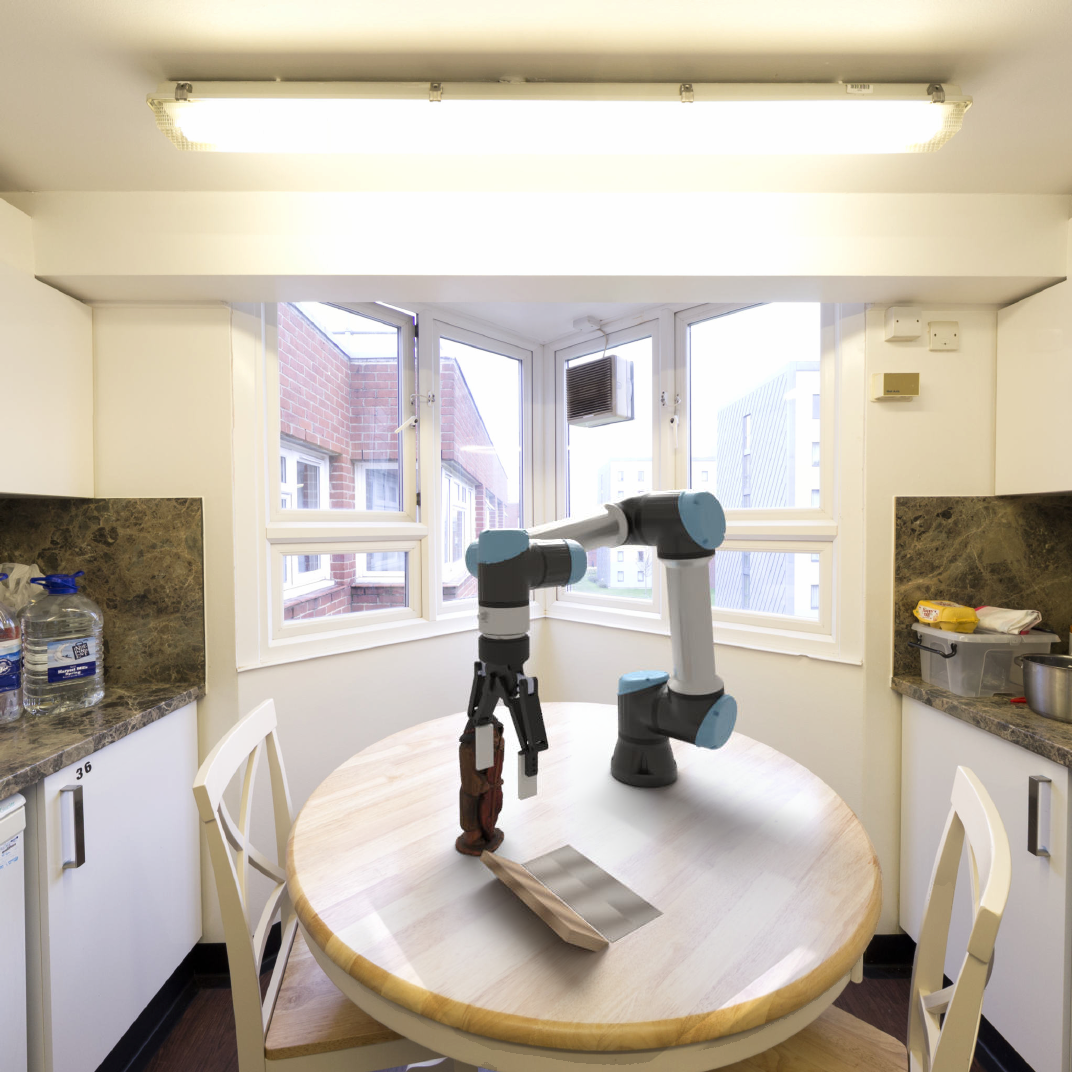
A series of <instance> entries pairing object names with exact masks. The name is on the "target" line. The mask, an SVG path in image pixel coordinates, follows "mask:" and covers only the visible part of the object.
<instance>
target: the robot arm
mask: <svg viewBox="0 0 1072 1072" xmlns="http://www.w3.org/2000/svg"><path fill="white" fill-rule="evenodd" d="M726 522H727V521H726V515H725V513H724V509H723V507H722V504H721V502H720V501H719V500H718V499H717V497H716V496H715V495H714V494H712V492H710V491H707V490H702V489H701V490H700V489H678V490H675V489H674V490H665V491H664V490H662V491H661V490H660V491H645V492H644V491H643V492H639V493H634V494H631V495H627V496H624V497H621V498H617V499H613V500H611V501H608V502H604V503H600V504H599V505H598V506H596V507H595V508H594V510H593V511H590V512H586V513H583V514H579V515H575V516H571V517H568V518H564V519H562V520H557V521H553V522H549V523H547V524H546V523H545V524H542V525H539V526H535V527H531V528H527V529H525V528H485V529H483V530H481V531H480V532H479V534H478V537H477V539H474V540H473V541H472V542H470V543H469V545H468V547H467V548H466V551H465V556H464V561H465V562H464V563H465V567H466V569H467V571H468V573H469V574H470V576H471V577H474V578H476V579H477V600H478V601H477V602H478V603H477V604H478V614H477V616H476V617H477V620H478V632H480V633H481V634H480V635H479V636H478V638H477V639H478V640H477V642H478V643H477V644H478V650H477V651H478V656H477V658H478V660H477V661H474V663H473V680H472V685H471V690H470V696H469V701H468V706H467V712H466V713H467V718H468V719H469V718H472V719H473V724H474V725H475V726H476V769H477V770H481V769H485V768H488V767H491V766H493V725H492V724H487V723H488V722H492V721H494V720H493V718H492V715H494V713H495V710H496V707H497V705H498V703H499V700H500V699H501V700H502V702H503V705H504V706H505V707H506V708H507V709H508V712H509V715H510V717H511V720H512V723H513V727H514V730H515V734H516V736H517V737H516V738H517V740H518V743H519V746H520V749H521V750H519V751H517V799H518V800H520V801H523V800H527V799H529V798H531V797H535V796H537V795H538V773H539V768H538V767H539V753H540V752H544V751H547V750H549V741H548V740H549V739H548V737H547V731H546V727H545V721H544V716H543V712H542V707H541V701H540V697H539V679H538V677H537V676H531V677H530V676H529V677H528V676H526V674H525V672H524V671H525V670H524V664H525V663H526V662H527V661H528V660H529V659H530V654H531V651H530V650H531V649H530V646H531V642H530V641H531V640H530V639H531V637H530V636H529V635H528V632H529V631H530V630H531V627H530V626H531V617H530V616H531V615H530V614H531V613H530V609H531V608H530V593H531V592H530V591H532V590H538V589H549V588H558V587H560V588H564V587H566V586H571V585H575V584H577V583H578V582H581V580H582V579H583V578H584V577H585V575H586V572H587V570H588V569H587V568H588V557H587V553H588V552H591V551H594V550H597V549H600V548H603V547H606V548H608V549H609V548H610V549H614V548H618V547H621V546H646V547H647V546H648V547H656V557H657V559H658V560H659V561H660V562H661V563H662V564H663V565H664V566H665V578H666V588H667V589H666V590H667V601H668V602H667V604H668V615H669V628H670V629H669V631H670V642H671V654H672V655H671V656H672V657H671V658H672V668H673V674H672V675H671V676H670V674H669V672H666V671H664V670H653V669H652V670H648V669H647V670H637V671H631V672H628V673H625V674H623V675H622V676H620V677H619V679H618V682H617V683H618V687H617V693H616V695H617V740H616V743H615V747H614V750H613V755H612V756H611V758H610V773H611V775H612V776H613V778H615V779H616V780H618V781H619V782H622V783H624V784H626V785H631V786H635V787H642V788H644V787H646V788H656V787H658V788H659V787H663V786H667V785H669V784H671V783H673V782H675V781H676V780H677V777H678V764H677V761H676V759H675V757H674V752H673V749H672V745H671V743H670V738H671V739H674V740H677V741H680V742H683V743H686V744H690V745H693V746H695V747H697V748H704V749H707V750H712V751H713V750H714V751H716V750H718V749H721V748H722V747H723V746H724V745H726V744H727V742H728V741H729V739H730V738H731V737H732V733H733V731H734V729H735V725H736V723H737V716H738V705H737V700H736V699H735V698H734V697H733V696H732V695H730V694H729V693H725V683H724V680H723V679H722V677H720V675H718V674H717V672H716V659H715V658H716V657H715V643H714V628H713V615H712V614H713V613H712V599H711V597H712V596H711V583H710V571H709V570H710V569H709V568H710V567H709V563H710V562H711V560H713V558H714V557H715V556H716V549H717V548H719V547H720V546H722V544H723V542H724V539H725V534H726V532H727V523H726Z"/></svg>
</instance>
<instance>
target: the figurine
mask: <svg viewBox="0 0 1072 1072" xmlns="http://www.w3.org/2000/svg"><path fill="white" fill-rule="evenodd" d="M492 718H493V720H494V721H492V722H488V723H487V724H492V725H493V766H491V767H488V768H485V769H481V770H477V769H476V726H475V725H474V724H473V719H472V718H468V720H467V722H466V724H465V727H464V730H463V732H462V734H461V735H460V736H459V739H458V742H459V743H460V744H459V747H458V758H459V759H458V760H459V762H458V763H459V775H460V776H459V778H460V783H461V784H460V787H459V793H458V794H459V795H458V796H459V798H458V799H459V800H458V801H459V803H458V805H459V826H460V829H461V830H463V832H462V833H461V834H460V835H458V836H457V838H455V839H456V840H455V849H456V851H458V853H460V854H463V855H465V856H468V857H469V856H470V857H481V855H482V853H483V851H484V850H486V851H488V852H490V853H493V854H494V853H495V852H496V851H497V850H498V849H499V847H500V846H501V844H502V843H503V842H504V840H505V832H504V831H503V830H502V829H501V828H499V827H496V825H497V823H498V820H499V816H500V813H501V812H502V809H503V804H504V792H503V789H502V788H503V787H502V786H503V785H504V784H505V780H504V779H503V778H502V775H503V769H504V761H505V747H506V744H505V743H506V741H505V738H504V736H503V735H504V731H505V727H504V723H502V722H501V721H500V720H499V719H498V717H496V715H495V714H493V715H492Z"/></svg>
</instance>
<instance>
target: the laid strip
mask: <svg viewBox="0 0 1072 1072" xmlns="http://www.w3.org/2000/svg"><path fill="white" fill-rule="evenodd" d="M520 865H521V866H522V867H523V868H524V869H525V870H526V871H527V872H529V873H530V874H531V875H532V876H533V877H534V878H535V879H536V878H537V880H538V881H539V882H540V883H541V884H542V885H544V886H545V887H546V888H547V889H548V890H549V891H550V892H552V893H553V894H554V895H555V896H556V897H557V898H559V899H560V900H561V901H562V902H563V903H564V904H565V905H566V904H567V906H568V907H569V908H570V909H571V910H572V911H574V912H575V913H576V914H577V915H578V916H579V917H580V918H582V919H583V920H584V921H585V922H586V923H587V924H590V926H591V927H592V928H593V929H594V930H595V931H597V932H598V933H599V934H600V935H601V936H602V937H604V938H605V939H606V940H607V941H608V942H609V943H610V942H611V943H612V944H613V943H615V942H617V941H618V940H620V939H622V938H623V937H625V936H627V935H628V934H630V933H632V932H633V931H635V930H638V929H639V928H640V927H642V926H644V925H646V924H647V923H649V922H651V921H653V920H654V919H656V918H658V917H660V916H662V915H663V914H664V913H663V912H662V911H661V910H659V909H658V908H657V907H655V906H654V905H653V904H651V903H650V902H648V901H647V900H646V899H644V898H643V897H641V896H640V895H639V894H637V893H636V892H635V891H633V890H632V889H631V888H629V887H628V886H627V885H625V884H624V883H622V882H621V881H620V880H618V879H617V878H616V877H614V876H612V875H611V874H610V873H608V872H607V871H606V870H604V868H602V867H600V866H599V865H598V864H596V863H595V862H594V861H592V860H591V859H589V858H588V857H587V856H585V855H584V854H582V853H581V852H579V851H578V850H576V848H574V847H573V846H572V845H570V844H566V845H564V846H561V847H559V848H556V849H554V850H551V851H549V852H547V853H545V854H542V855H540V856H537V857H535V858H532V859H530V860H528V861H526V862H523V863H521V864H520Z"/></svg>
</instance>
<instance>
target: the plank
mask: <svg viewBox="0 0 1072 1072" xmlns="http://www.w3.org/2000/svg"><path fill="white" fill-rule="evenodd" d="M479 857H480V858H479V860H480V861H481V863H483V864H484V865H485V866H486V867H487V868H488V869H489V870H490V871H491V872H492V873H493V874H494V876H496V877H497V878H498V879H500V881H501V882H502V883H504V884H505V885H506V886H507V888H509V889H510V890H511V891H512V892H513V893H514V894H515V895H516V896H517V897H518V898H519V899H521V901H522V902H524V904H525V905H527V907H529V908H530V909H531V910H532V912H534V913H535V914H537V917H539V918H540V919H541V920H542V921H544V923H546V924H547V925H548V926H549V927H550V928H551V930H553V931H554V932H555V933H556V934H557V935H558V936H559V937H560V938H561V939H562V940H563V941H564V942H566V943H569V944H571V945H575V946H577V947H581V948H584V949H586V950H590V951H593V952H596V953H597V952H598V951H601V950H603V949H604V948H606V947H607V946H609V943H610V941H609V940H608V939H607V938H605V937H604V936H603V935H602V934H601V933H600V932H599V931H597V930H596V929H595V928H594V927H593V926H592V925H589V923H588V922H587V921H586V920H585V919H584V918H582V917H581V916H580V915H579V914H578V913H577V912H576V911H574V910H573V909H572V908H571V907H570V906H569V905H566V903H565V902H564V901H563V900H562V899H561V898H559V897H558V896H557V895H556V894H555V893H554V892H553V891H551V890H550V889H549V888H548V887H547V886H546V885H545V884H543V883H542V882H541V881H540V880H539V879H538V878H537V879H536V877H535V876H534V875H533V874H532V873H531V872H529V871H528V870H527V869H526V868H525V867H524V866H523V865H521V864H520V863H517V862H515V861H512V860H510V859H507V858H505V857H502V856H500V855H498V854H495V853H494V852H493V853H490V852H488V851H486V850H484V851H483V853H482V855H481V856H479Z"/></svg>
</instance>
